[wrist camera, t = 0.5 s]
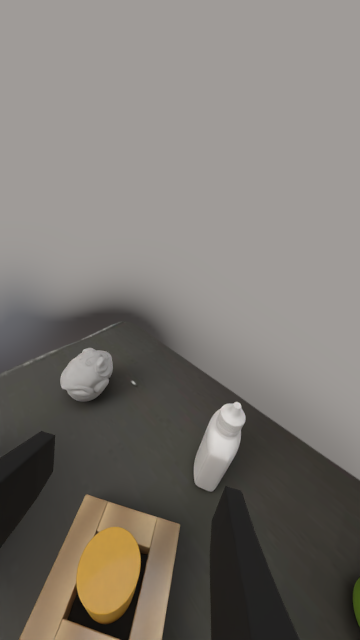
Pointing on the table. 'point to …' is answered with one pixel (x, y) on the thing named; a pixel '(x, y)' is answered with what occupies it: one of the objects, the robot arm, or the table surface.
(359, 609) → the snail figurine
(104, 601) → the yellow peg
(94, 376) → the frog figurine
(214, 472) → the eye dropper bottle
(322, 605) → the table surface
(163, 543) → the peg stand
